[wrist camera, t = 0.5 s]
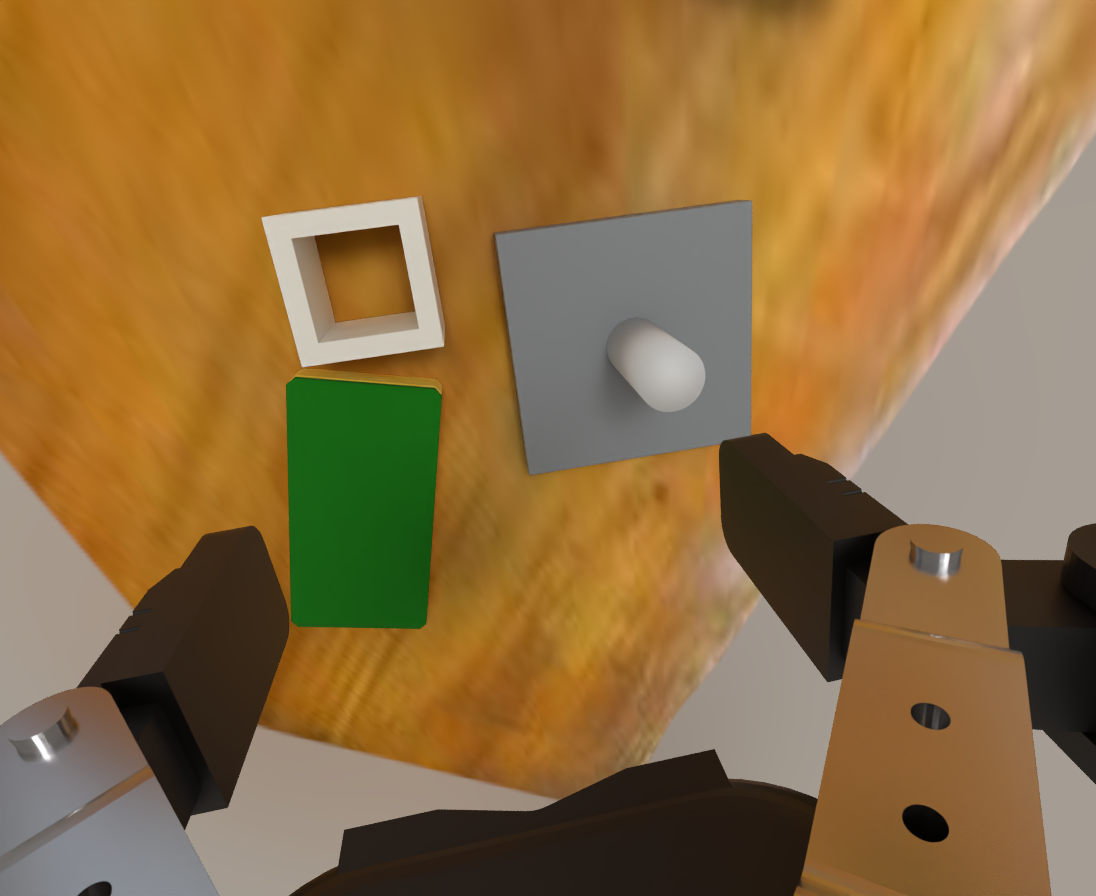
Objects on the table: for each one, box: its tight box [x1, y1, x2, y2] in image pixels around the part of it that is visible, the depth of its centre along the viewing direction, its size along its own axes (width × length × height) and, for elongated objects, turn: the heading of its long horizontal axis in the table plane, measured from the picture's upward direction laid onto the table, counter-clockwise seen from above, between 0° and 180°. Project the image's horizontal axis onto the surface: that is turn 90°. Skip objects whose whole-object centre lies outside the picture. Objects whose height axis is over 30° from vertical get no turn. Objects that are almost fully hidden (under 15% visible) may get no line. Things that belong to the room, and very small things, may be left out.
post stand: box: [494, 200, 752, 475], centre depth 30 cm, size 12×12×8 cm
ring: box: [261, 196, 445, 367], centre depth 29 cm, size 6×6×4 cm
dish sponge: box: [286, 368, 442, 629], centre depth 34 cm, size 7×14×2 cm, turn 172°
